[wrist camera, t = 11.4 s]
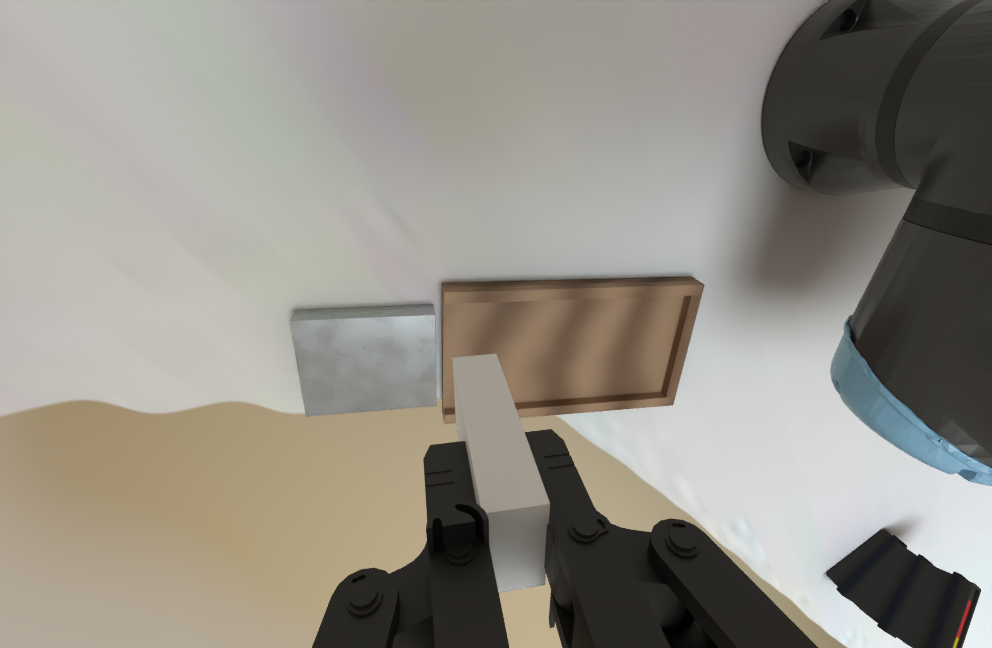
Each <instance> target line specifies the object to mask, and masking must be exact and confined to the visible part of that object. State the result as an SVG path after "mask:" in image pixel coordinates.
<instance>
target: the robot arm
mask: <svg viewBox="0 0 992 648" xmlns="http://www.w3.org/2000/svg"><path fill="white" fill-rule="evenodd" d="M762 125H763V139H764V145H765V149H766V152H767V155H768V158H769V160H770V162H771V164H772V166H773V167H774V169H775V170H776V172H777V173H778V174H779V175H780V176H781V177H782V178H783V179H784V180H786V181H787V182H788V183H790V184H792V185H794V186H796V187H799V188H802V189H806V190H809V191H813V192H817V193H821V194H829V195H844V194H852V193H860V192H868V191H876V190H884V189H892V188H900V187H906V188H911V189H916V192H915V194H914V196H913V198H912V200H911V202H910V204H909V206H908V208H907V210H906V212H905V214H904V216H903V218H902V219H901V221H900V223H899V225H898V227H897V229H896V231H895V233H894V235H893V237H892V239H891V241H890V243H889V245H888V247H887V249H886V251H885V253H884V255H883V257H882V259H881V261H880V263H879V265H878V267H877V268H876V270H875V272H874V274H873V276H872V278H871V280H870V282H869V284H868V286H867V288H866V290H865V292H864V294H863V296H862V298H861V300H860V302H859V304H858V306H857V308H856V310H855V312H854V314H853V315H850V316H849V317H848V319H847V320H846V322H845V325H844V334H843V336H842V339H841V341H840V343H839V346H838V348H837V350H836V353H835V355H834V357H833V360H832V363H831V369H830V371H831V379H832V382H833V384H834V387H835V389H836V391H837V392H838V393H839V394H840V397H841V399H842V400H843V402H844V403H845V405H846V406H847V407H848V408H849V409H850V410H851V411H852V412H853V413H854V414H855V415H856V416H857V417H858V418H859V419H860V420H861V421H862V422H863V423H864V424H866V425H867V426H868V427H869V428H870V429H872V430H873V431H874V432H876V433H877V434H878V435H880V436H881V437H882V438H884V439H885V440H887V441H888V442H890V443H891V444H893V445H894V446H896V447H897V448H899V449H900V450H902V451H904V452H905V453H907V454H909V455H910V456H912V457H914V458H916V459H918V460H919V461H921V462H923V463H925V464H927V465H929V466H931V467H934V468H936V469H938V470H940V471H943V472H945V473H948V474H955V473H958V474H959V475H960V476H962V477H963V478H965V479H966V480H968V481H970V482H974V483H978V484H983V485H988V486H992V0H830V1H829V2H828V3H826V4H825V5H823V6H822V7H821V8H820V9H819V10H817V11H816V12H815V13H814V14H813V15H812V16H811V17H810V18H809V19H808V20H807V21H806V22H805V23H804V24H803V26H802V27H801V28H800V29H799V30H798V32H797V33H796V34H795V36H794V37H793V38H792V40H791V41H790V43H789V44H788V46H787V47H786V49H785V51H784V52H783V54H782V56H781V58H780V60H779V62H778V64H777V66H776V68H775V70H774V73H773V75H772V78H771V81H770V83H769V87H768V90H767V94H766V98H765V103H764V110H763V122H762ZM452 362H453V380H454V398H455V417H456V427H457V433H458V439H459V442H453V443H444V444H437V445H430V447H429V449H428V451H427V453H426V455H425V457H424V474H425V487H426V488H425V489H426V507H427V526H426V533H427V543H426V545H425V548H424V549H423V551H422V552H421V554H420V555H419V556H418V557H417V558H416V559H415V560H414V561H413V562H411V563H409V564H408V565H406V566H405V567H403V568H401V569H398V570H396V571H394V572H392V573H390V574H389V573H387V572H386V571H384V570H380V569H376V568H369V569H362V570H359V571H357V572H355V573H353V574H350V575H349V576H348V577H346V578H345V579H344V580H343V581H342V582H341V583H340V584H339V585H338V586H337V588H336V590H335V591H334V593H333V595H332V597H331V599H330V602H329V604H328V607H327V610H326V612H325V615H324V618H323V620H322V623H321V625H320V628H319V631H318V633H317V636H316V638H315V641H314V644H313V646H312V648H509V644H508V639H507V634H506V629H505V623H504V618H503V613H502V608H501V603H500V598H499V593H500V592H505V591H512V590H518V589H523V588H529V587H534V586H540V585H545V574H547V577H548V580H549V584H550V587H551V597H550V611H549V625H550V628H552V627H554V625H555V623H556V626H557V630H558V633H559V637H560V640H561V644H562V647H563V648H818V647H817V646H816V645H815V644H814V643H813V642H812V641H811V640H810V639H809V638H808V637H807V636H806V635H805V634H804V633H803V632H802V631H801V630H800V629H799V628H798V627H797V626H796V625H795V624H794V623H793V622H792V621H791V620H790V619H789V618H788V617H787V616H786V615H785V614H784V613H783V612H782V611H781V610H780V609H779V608H778V607H777V606H776V605H775V604H774V602H772V600H771V599H770V598H769V597H768V596H767V595H766V594H765V593H764V592H762V590H761V589H760V588H758V586H757V585H756V584H755V583H754V582H753V581H752V580H750V578H749V577H748V576H747V575H746V574H745V573H744V572H743V571H742V570H741V569H740V568H739V567H738V566H737V565H736V564H735V563H734V562H733V561H732V560H731V559H730V558H729V557H728V556H727V555H726V554H725V553H724V552H723V551H722V550H721V549H720V548H719V547H718V546H717V545H716V544H715V543H714V542H713V541H712V540H711V539H710V538H709V537H708V536H707V535H706V534H705V533H704V532H703V531H702V530H700V529H699V528H698V527H696V526H695V525H693V524H691V523H688V522H686V521H684V520H678V519H667V520H661V521H660V522H658V523H657V524H656V525H654V527H653V529H652V532H644V531H637V530H630V529H625V528H621V527H618V526H616V525H613V524H611V523H610V522H609V521H608V519H607V518H606V517H605V516H603V515H602V514H600V513H599V512H598V511H596V509H595V507H594V506H593V504H592V502H591V499H590V497H589V495H588V493H587V491H586V488H585V486H584V484H583V482H582V480H581V477H580V475H579V473H578V471H577V469H576V467H575V466H574V462H573V460H572V458H571V456H570V455H569V451H568V449H567V447H566V445H565V442H564V440H563V439H562V438H560V437H559V436H558V435H557V434H556V433H555V432H554V431H553V430H552V429H548V430H540V431H532V432H524V429H523V427H522V424H521V421H520V418H519V415H518V413H517V410H516V407H515V404H514V401H513V399H512V396H511V393H510V390H509V387H508V385H507V382H506V379H505V376H504V373H503V371H502V368H501V365H500V362H499V359H498V356H497V354H486V355H476V356H465V357H455V358H452Z"/></svg>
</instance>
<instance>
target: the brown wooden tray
mask: <svg viewBox="0 0 992 648" xmlns="http://www.w3.org/2000/svg"><path fill="white" fill-rule="evenodd" d="M703 288H704V284H702V283H701V282H699V281H698V280H696V279H695V278H693V277H662V278H623V279H584V280H546V281H507V282H468V283H442V413H443V419H444V424H452V423H456V417H455V398H454V380H453V362H452V358H455V357H465V356H476V355H486V354H497V356H498V359H499V362H500V365H501V368H502V371H503V373H504V376H505V379H506V382H507V385H508V387H509V390H510V393H511V396H512V399H513V401H514V404H515V407H516V410H517V413H518V415H519V418H524V417H536V416H548V415H560V414H572V413H584V412H597V411H609V410H621V409H633V408H645V407H657V406H669V405H673V403H674V400H675V396H676V392H677V388H678V384H679V380H680V377H681V373H682V369H683V365H684V361H685V357H686V354H687V350H688V346H689V342H690V338H691V334H692V331H693V327H694V323H695V319H696V315H697V311H698V307H699V304H700V300H701V296H702V292H703Z"/></svg>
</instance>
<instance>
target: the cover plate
mask: <svg viewBox="0 0 992 648" xmlns="http://www.w3.org/2000/svg"><path fill="white" fill-rule="evenodd" d="M290 324H291V330H292V336H293V342H294V347H295V353H296V359H297V365H298V371H299V377H300V383H301V389H302V395H303V401H304V407H305V413H306V416H319V415H330V414H343V413H356V412H368V411H380V410H393V409H405V408H418V407H430V406H436V349H435V313H434V307H433V305H408V306H384V307H360V308H336V309H311V310H295V311H294V313H293V316H292V318H291V320H290Z"/></svg>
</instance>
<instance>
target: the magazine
mask: <svg viewBox="0 0 992 648" xmlns="http://www.w3.org/2000/svg"><path fill="white" fill-rule="evenodd" d="M826 574H827V576H828V577H829V578H830V579H831V580H832V581H833V582H834V583H835V584H836V585H837V586H838V588H837V590H838V592H839V593H840V594H841V595H842V596H844V597H846V598H847V599H849V600H850V601H852V602H853V603H855V604H856V605H857V606H858V607H859V608H860V609H861V610H862V611H863V612H864V613H866V614H867V615H868V616H869V617H871V618H872V619H873V620H875V621H876V622H877V623H878V625H877V626H878V627H879V628H881V629H882V630H883V631H885V632H886V633H888V634H890V635H891V636H893V637H895V638H896V637H897V638H899V639H900V640H902V641H903V642H904V643H906V644H907V645H909V646H910V647H912V648H962V646H963V643H964V640H965V637H966V634H967V631H968V628H969V625H970V622H971V619H972V616H973V613H974V610H975V607H976V605H977V602H978V599H979V596H980V593H981V589H980V588H979V587H978V586H977V585H976V584H974V583H972V582H970V581H968V580H967V579H966V578H965V577H964V576H962V575H961V574H959V573H957V572H953V574H951V573H948V572H946V571H944V570H941V569H939V568H937V567H935V566H933V564H932V563H931V562H929V561H928V560H927V559H926V558H925V557H923V556H922V555H920V554H919V555H918V556H917V555H915V554H914V553H912V552H911V551H909V550H908V549H907V545H905V544H904V543H903V542H902V541H901V540H900V539H898V538H897V537H896V536H895V535H893V536H892V535H890V534H889V533H888V532H887V531H886V530H881V531H880V532H878V533H877V534H876V535H875V536H873V537H872V538H871V539H869V540H868V541H867V542H865V543H864V544H863V545H862V546H860V547H859V548H858V549H856V550H855V551H854V552H852V553H851V554H850V555H849V556H847V557H846V558H845V559H843V560H842V561H841V562H839V563H838V564H837V565H836V566H834V567H833V568H832V569H830V570H829V571H828V572H827V573H826Z"/></svg>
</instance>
